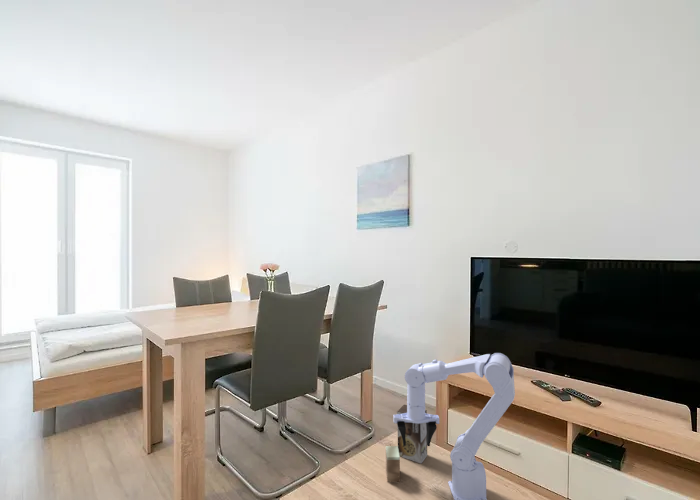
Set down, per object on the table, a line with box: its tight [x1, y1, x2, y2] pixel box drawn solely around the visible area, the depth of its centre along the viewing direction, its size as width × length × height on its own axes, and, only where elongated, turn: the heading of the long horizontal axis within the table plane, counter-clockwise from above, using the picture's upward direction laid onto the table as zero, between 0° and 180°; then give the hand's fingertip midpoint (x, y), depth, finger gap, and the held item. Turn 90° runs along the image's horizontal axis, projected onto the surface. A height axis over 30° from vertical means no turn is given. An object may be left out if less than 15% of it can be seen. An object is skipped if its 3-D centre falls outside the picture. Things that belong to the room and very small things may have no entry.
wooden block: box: [385, 445, 401, 483], centre depth 111 cm, size 4×6×8 cm, turn 178°
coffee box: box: [396, 404, 428, 464], centre depth 122 cm, size 9×6×16 cm
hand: (416, 444), depth 111 cm, fingers open, 7 cm apart
